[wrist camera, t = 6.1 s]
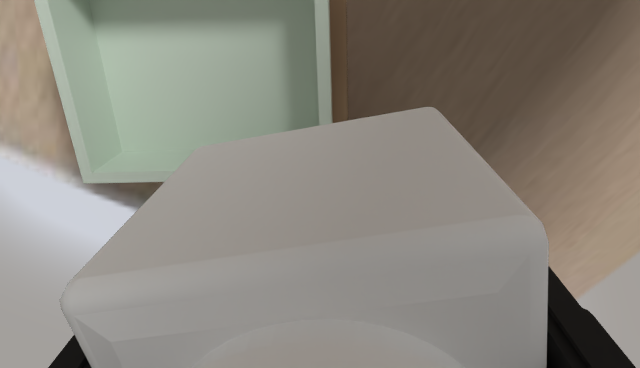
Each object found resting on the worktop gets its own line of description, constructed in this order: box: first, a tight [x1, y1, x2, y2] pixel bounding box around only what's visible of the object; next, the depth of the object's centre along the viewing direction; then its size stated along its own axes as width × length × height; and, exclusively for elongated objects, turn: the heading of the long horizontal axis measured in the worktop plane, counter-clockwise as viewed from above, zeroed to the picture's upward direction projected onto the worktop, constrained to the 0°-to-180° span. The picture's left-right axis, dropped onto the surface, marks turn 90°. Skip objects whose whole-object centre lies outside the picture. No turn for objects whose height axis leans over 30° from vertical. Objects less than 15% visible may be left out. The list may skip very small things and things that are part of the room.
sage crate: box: [34, 0, 333, 184], centre depth 22 cm, size 13×11×4 cm
